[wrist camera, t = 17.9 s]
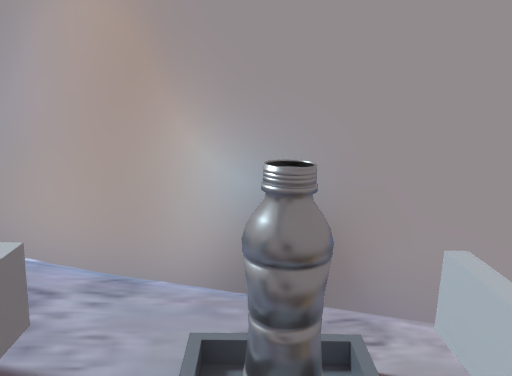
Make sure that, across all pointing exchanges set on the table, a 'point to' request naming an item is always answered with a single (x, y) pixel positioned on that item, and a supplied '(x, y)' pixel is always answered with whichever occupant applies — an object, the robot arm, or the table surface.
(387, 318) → the table surface
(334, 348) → the tray
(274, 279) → the silver metal bottle
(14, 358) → the table surface
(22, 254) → the robot arm
